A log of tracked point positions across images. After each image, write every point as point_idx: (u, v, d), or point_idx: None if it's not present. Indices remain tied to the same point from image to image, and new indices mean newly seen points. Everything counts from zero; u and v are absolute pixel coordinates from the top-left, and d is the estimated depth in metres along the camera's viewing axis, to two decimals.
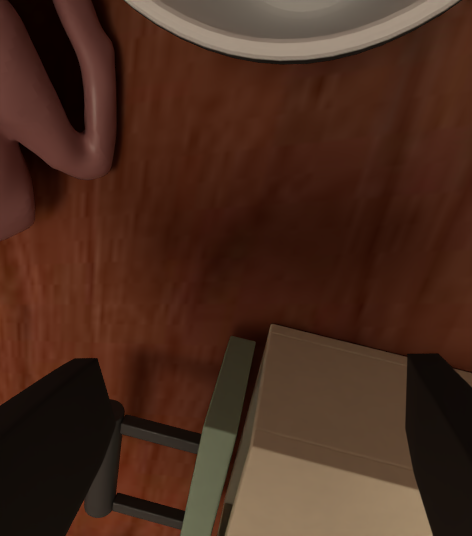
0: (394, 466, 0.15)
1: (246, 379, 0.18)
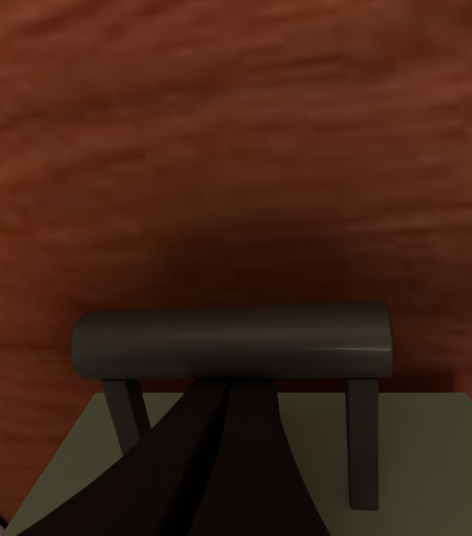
0: None
1: None
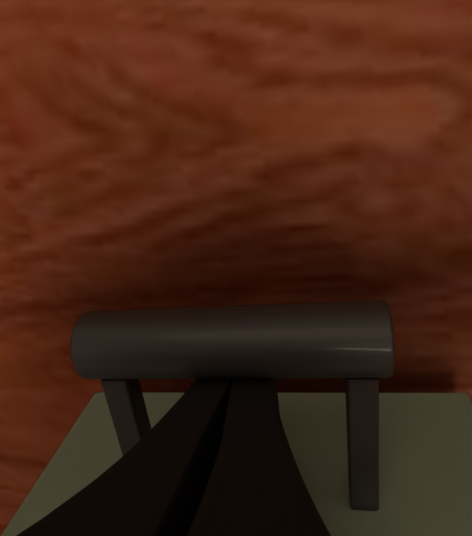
0: None
1: None
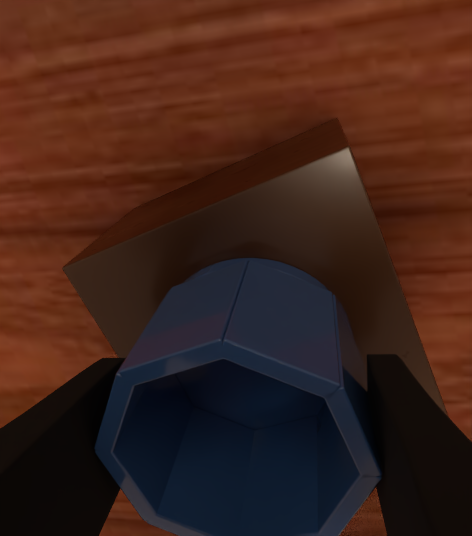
0: None
1: None
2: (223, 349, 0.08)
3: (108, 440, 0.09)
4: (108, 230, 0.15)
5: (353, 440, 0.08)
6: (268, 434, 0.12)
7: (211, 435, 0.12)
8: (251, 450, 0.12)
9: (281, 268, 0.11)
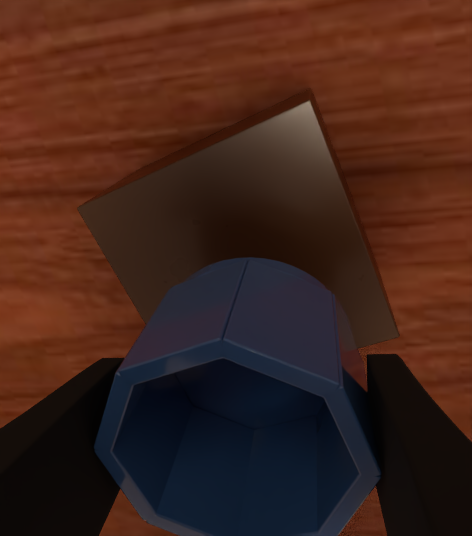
0: None
1: None
2: (222, 348, 0.08)
3: (107, 439, 0.09)
4: (114, 184, 0.17)
5: (352, 439, 0.08)
6: (268, 434, 0.12)
7: (211, 435, 0.12)
8: (250, 449, 0.12)
9: (280, 268, 0.11)
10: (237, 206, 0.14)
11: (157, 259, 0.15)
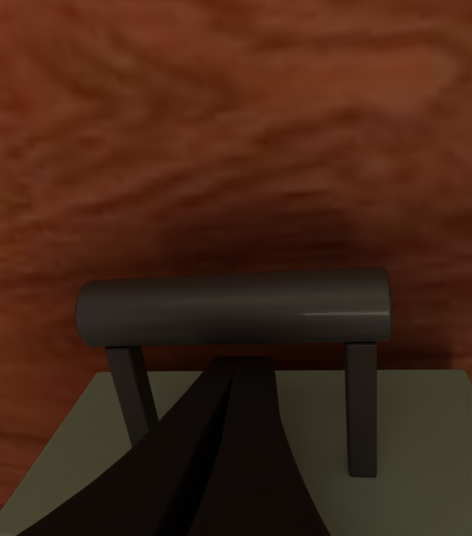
0: None
1: None
2: None
3: None
4: None
5: None
6: None
7: None
8: None
9: None
10: None
11: None
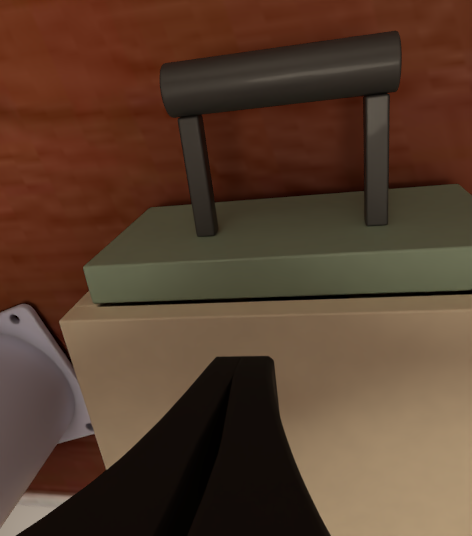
0: None
1: None
2: None
3: None
4: None
5: None
6: None
7: None
8: None
9: None
10: None
11: None
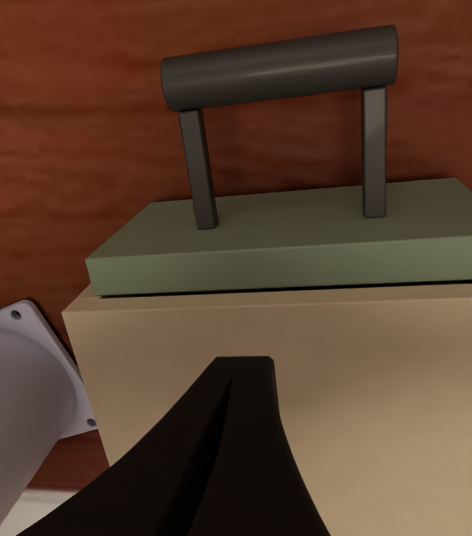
0: None
1: None
2: None
3: None
4: None
5: None
6: None
7: None
8: None
9: None
10: None
11: None
